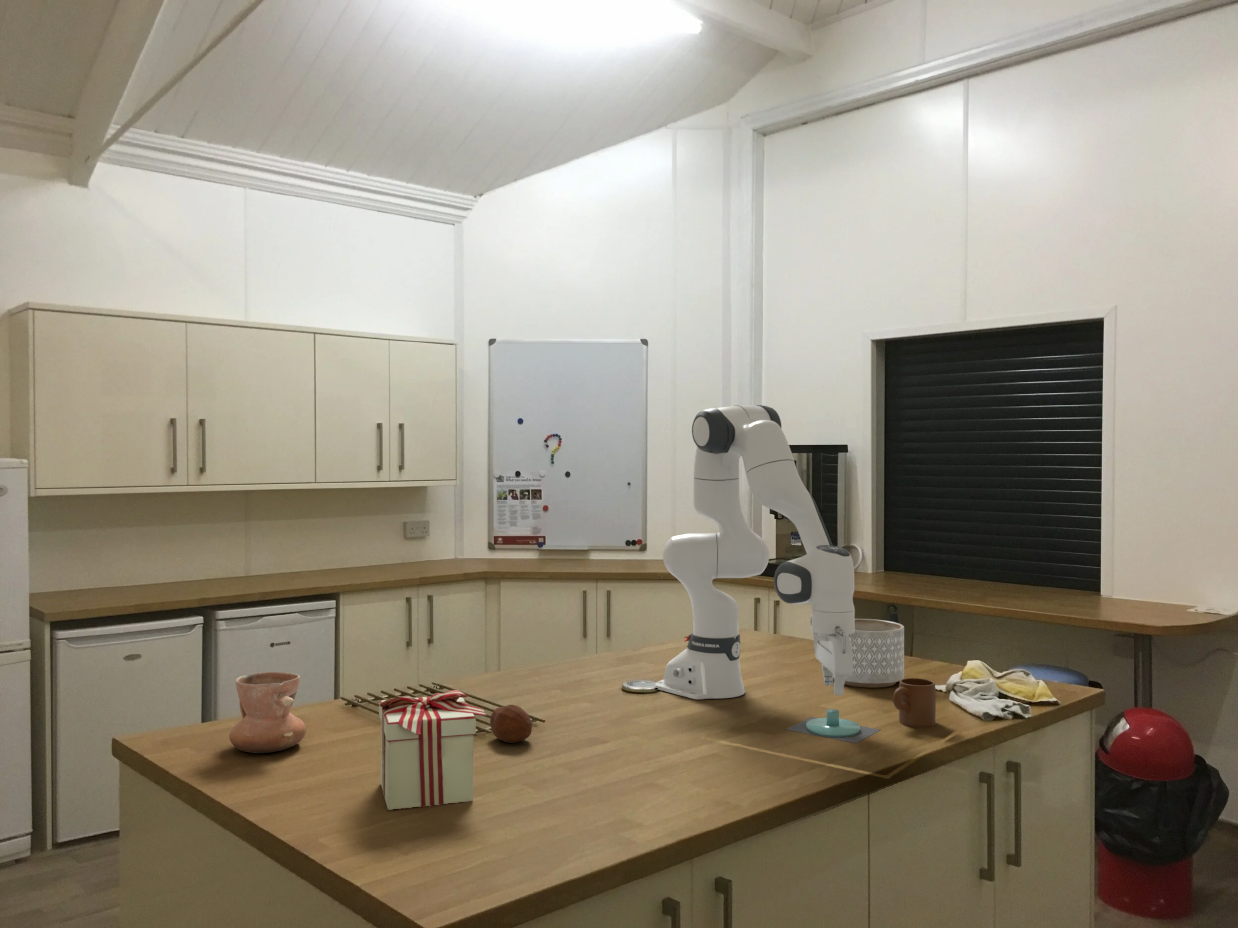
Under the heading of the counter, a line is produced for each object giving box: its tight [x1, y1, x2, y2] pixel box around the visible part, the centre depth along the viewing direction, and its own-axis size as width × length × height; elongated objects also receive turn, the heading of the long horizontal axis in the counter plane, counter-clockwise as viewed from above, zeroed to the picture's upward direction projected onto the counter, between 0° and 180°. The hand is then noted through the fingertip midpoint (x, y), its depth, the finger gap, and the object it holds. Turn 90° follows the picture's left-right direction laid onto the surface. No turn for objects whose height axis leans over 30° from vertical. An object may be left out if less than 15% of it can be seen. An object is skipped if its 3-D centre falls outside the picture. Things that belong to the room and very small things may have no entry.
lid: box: [806, 708, 861, 737], centre depth 209 cm, size 11×11×4 cm
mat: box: [785, 716, 881, 744], centre depth 209 cm, size 16×12×1 cm
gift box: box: [378, 689, 487, 811], centre depth 171 cm, size 17×18×17 cm
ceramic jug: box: [228, 671, 307, 754], centre depth 199 cm, size 18×14×14 cm
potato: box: [489, 704, 533, 744], centre depth 203 cm, size 8×11×8 cm
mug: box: [892, 677, 937, 728], centre depth 212 cm, size 12×8×9 cm, turn 130°
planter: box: [832, 618, 905, 688], centre depth 255 cm, size 19×19×14 cm
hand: (833, 689), depth 208 cm, fingers open, 8 cm apart
